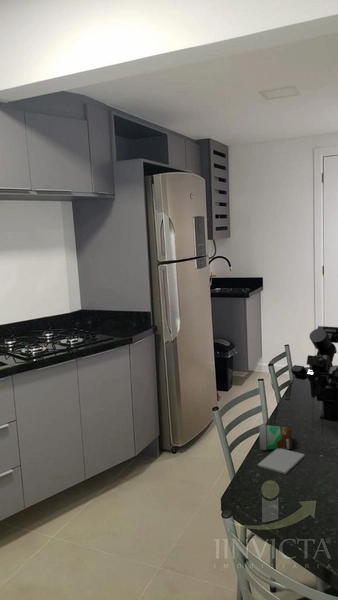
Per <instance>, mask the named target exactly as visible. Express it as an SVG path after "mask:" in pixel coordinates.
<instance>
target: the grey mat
mask: <svg viewBox="0 0 338 600" xmlns="http://www.w3.org/2000/svg"><path fill="white" fill-rule="evenodd" d="M304 458H305V454H304V453H300V452H297V451H292V450H290V449H281V448H280V449H273V451H272V452H271V453H270V454H268V455H267V456H266V457H264V458H263V459H262V460H261V461H260V462H259V463H257V467H258V468H259V467H260V468H262V469H266V470H269V471H273V472H275V473H280V474H284V475H286V474H287V473H288V472H290V471H291V470H292V469H293V468H294V467H295V466H296V465H297V464H298V463H299V462H300V461H301V460H303V459H304Z"/></svg>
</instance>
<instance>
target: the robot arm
mask: <svg viewBox="0 0 338 600" xmlns="http://www.w3.org/2000/svg"><path fill="white" fill-rule="evenodd" d="M309 340H310V341H311V343H312V345H314V348H315V349H316V350H317V352H316V354H314V355H307V356H306V357H307V358H306V365H307V366H308V367H309V369H306V367H305V366H304V365H297V364H295V365H293V366H292V367H291V369H290V373H291V374H292V376H294V378H295V379H296V380H302V381H303V380H304V381H305V380H307V379H308V382H309V384H310V396H311V398H312V399H313V398H316V401H317V402H322V414H321V415H320V416H319V419H323V420H327V421H333V422H338V366H337V367H336V368H335V369H333V370H332V371H331V372H332V373H331V372H330V370H331V368H333V366H334V364H333V360H334V357H335V354H337V352H338V351H337V347H336V344H338V327H337V326H327V325H326V326H325V325H324V326H321V325H318V326H317V328H316V329H313V330H312V331H311V332H310V333H309Z"/></svg>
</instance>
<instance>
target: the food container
mask: <svg viewBox="0 0 338 600" xmlns="http://www.w3.org/2000/svg"><path fill="white" fill-rule="evenodd" d="M258 427H259V428H258V429H259V432H258V434H259V450H262V451H267V450H276V449H280V448H281V449H285V450H292V449H293V443H292V439H293V438H292V430H291V429H292V428H291V426H289V427H287V426H277V425H267V423H261V424H259V426H258Z"/></svg>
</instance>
